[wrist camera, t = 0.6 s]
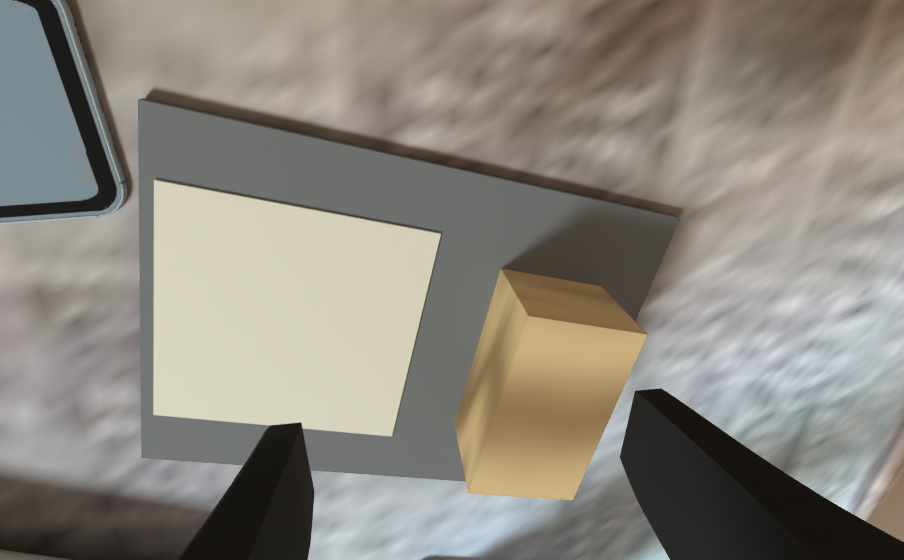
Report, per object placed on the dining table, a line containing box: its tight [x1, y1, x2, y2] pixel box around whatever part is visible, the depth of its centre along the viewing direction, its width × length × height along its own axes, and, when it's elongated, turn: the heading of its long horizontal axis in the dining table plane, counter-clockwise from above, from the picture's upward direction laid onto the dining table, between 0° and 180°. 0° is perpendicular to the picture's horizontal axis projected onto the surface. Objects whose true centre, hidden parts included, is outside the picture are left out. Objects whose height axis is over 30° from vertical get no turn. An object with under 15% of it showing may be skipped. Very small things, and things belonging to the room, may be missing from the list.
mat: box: [138, 98, 680, 481], centre depth 20 cm, size 15×20×1 cm
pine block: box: [454, 269, 648, 500], centre depth 20 cm, size 8×4×4 cm, turn 166°
